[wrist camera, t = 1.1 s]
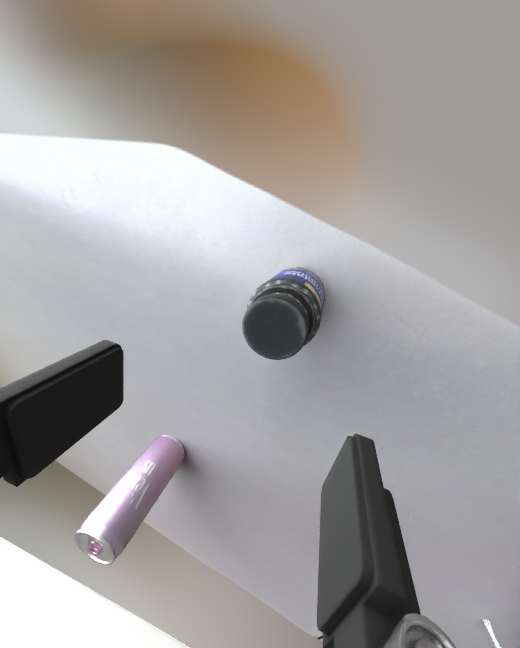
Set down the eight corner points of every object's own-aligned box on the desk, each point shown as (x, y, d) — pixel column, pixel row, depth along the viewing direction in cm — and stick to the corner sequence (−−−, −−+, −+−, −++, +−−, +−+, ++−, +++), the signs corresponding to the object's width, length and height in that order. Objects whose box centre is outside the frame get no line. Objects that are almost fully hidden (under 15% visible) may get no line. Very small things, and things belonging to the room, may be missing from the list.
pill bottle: (336, 285, 25) (337, 318, 15) (305, 330, 28) (289, 384, 18) (285, 255, 26) (254, 269, 16) (260, 303, 28) (219, 341, 18)
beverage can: (152, 446, 43) (69, 543, 30) (162, 427, 41) (76, 523, 27) (179, 466, 43) (108, 572, 29) (191, 447, 40) (119, 555, 27)
